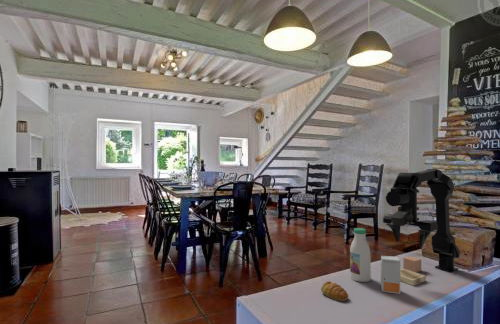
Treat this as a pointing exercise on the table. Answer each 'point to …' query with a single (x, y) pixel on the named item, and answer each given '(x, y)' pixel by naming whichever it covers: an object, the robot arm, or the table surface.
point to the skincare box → (390, 274)
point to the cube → (412, 264)
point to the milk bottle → (360, 257)
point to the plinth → (411, 277)
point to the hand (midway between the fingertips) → (409, 244)
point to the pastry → (334, 291)
